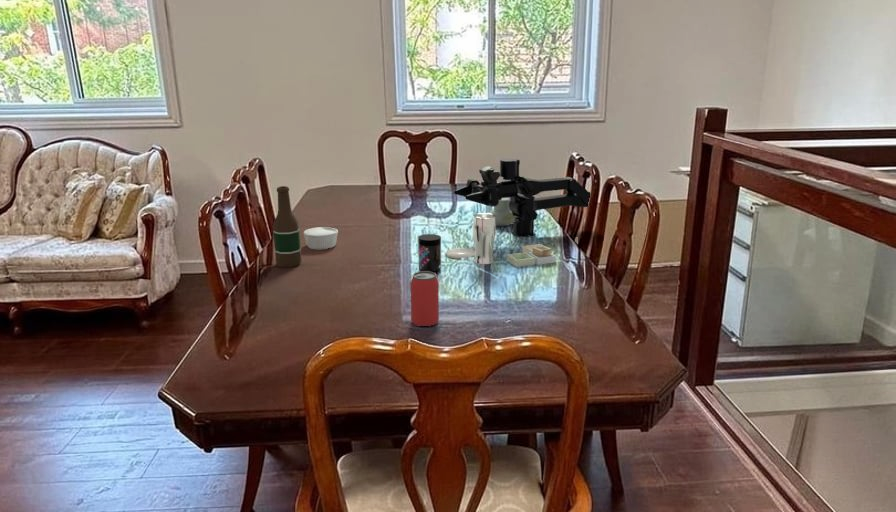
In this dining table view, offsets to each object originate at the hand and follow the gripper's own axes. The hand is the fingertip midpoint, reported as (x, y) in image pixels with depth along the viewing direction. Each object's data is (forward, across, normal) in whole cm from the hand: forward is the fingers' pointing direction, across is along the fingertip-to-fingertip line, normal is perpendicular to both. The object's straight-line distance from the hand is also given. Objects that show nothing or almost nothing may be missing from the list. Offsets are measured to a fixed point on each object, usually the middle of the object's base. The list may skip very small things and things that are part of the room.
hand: (459, 194), depth 205 cm
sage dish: (-7, +29, +17) cm, 34 cm away
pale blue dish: (-14, +30, +17) cm, 37 cm away
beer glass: (+3, +23, +17) cm, 29 cm away
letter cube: (-14, +30, +16) cm, 37 cm away
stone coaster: (+6, +12, +16) cm, 21 cm away
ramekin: (+44, -16, +16) cm, 50 cm away
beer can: (+36, +58, +16) cm, 70 cm away
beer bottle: (+58, 0, +15) cm, 60 cm away
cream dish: (-16, +23, +17) cm, 33 cm away
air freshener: (-24, -16, +18) cm, 34 cm away
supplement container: (+21, +23, +16) cm, 35 cm away
